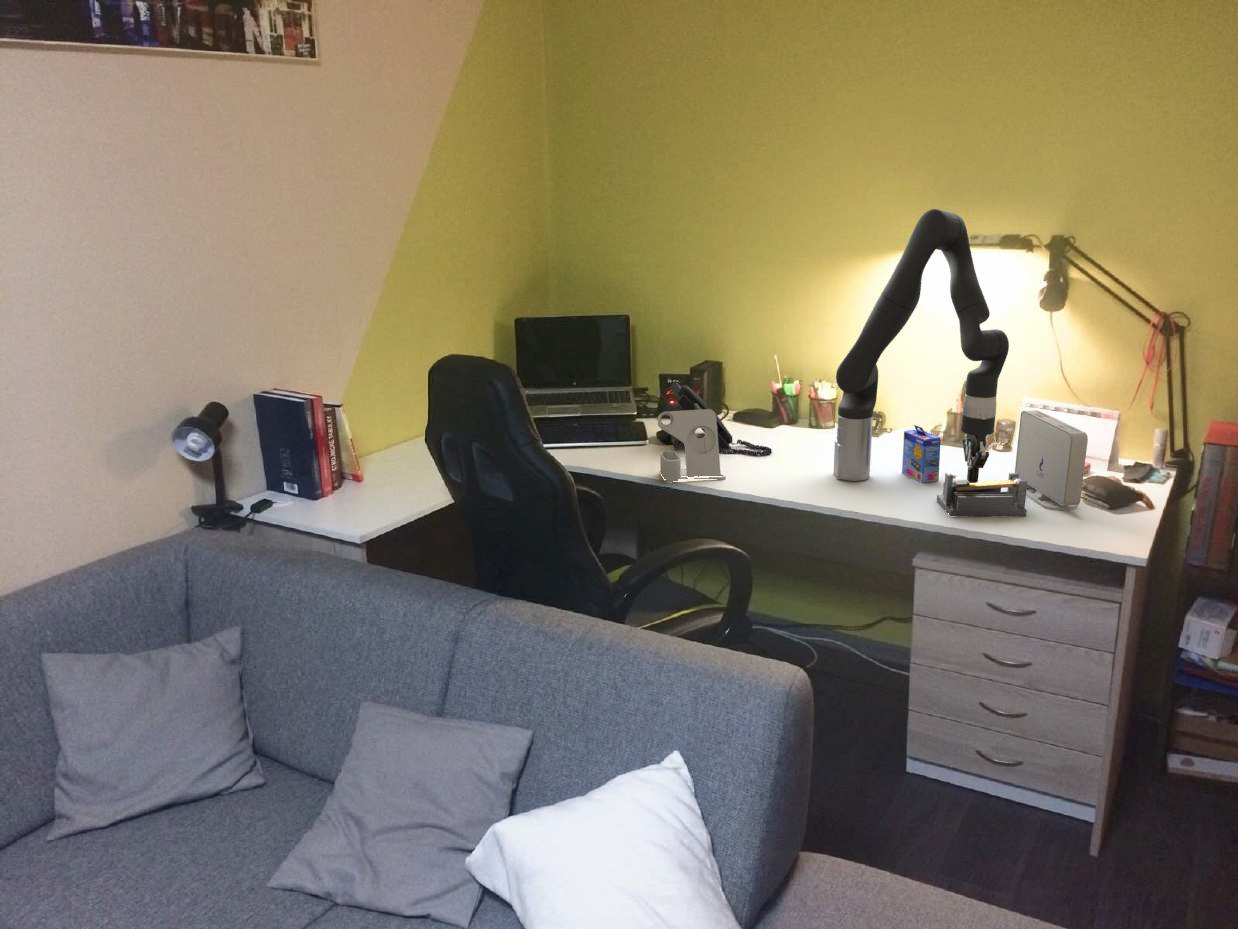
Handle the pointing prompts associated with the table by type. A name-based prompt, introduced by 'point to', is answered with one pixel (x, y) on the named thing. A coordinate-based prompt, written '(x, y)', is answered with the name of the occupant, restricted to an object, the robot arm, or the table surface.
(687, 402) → the office phone
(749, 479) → the table surface
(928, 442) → the ink cartridge box
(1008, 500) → the heatsink
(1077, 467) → the network device
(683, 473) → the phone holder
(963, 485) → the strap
